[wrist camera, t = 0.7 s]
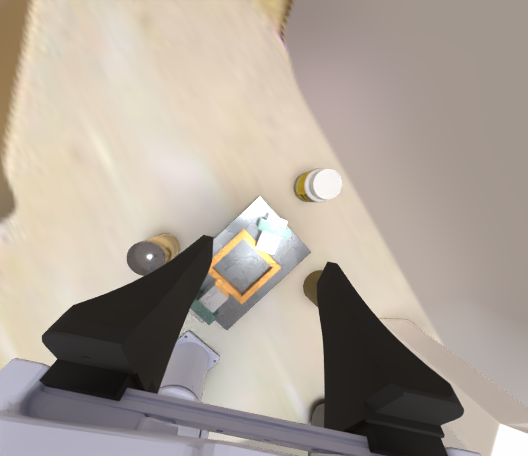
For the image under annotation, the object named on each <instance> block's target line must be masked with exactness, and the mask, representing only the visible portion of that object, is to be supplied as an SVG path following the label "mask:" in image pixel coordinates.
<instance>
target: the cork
mask: <svg viewBox="0 0 528 456" xmlns="http://www.w3.org/2000/svg"><path fill="white" fill-rule="evenodd" d="M322 272H323V271H321V270H320V271H315V272H313V273H311V274H310V275H309V276H308V277H307V278H306V280H305V281H304V285H303V288H304V293H305V295H306V296H307V297H308V298H309V299H310V300H311V301H312V302H313V303H314V304H315V305H316V306H317V307H318V302H317V282H318V280H319V278H320V276H321V274H322Z"/></svg>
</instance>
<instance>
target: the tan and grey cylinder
mask: <svg viewBox="0 0 528 456" xmlns="http://www.w3.org/2000/svg"><path fill="white" fill-rule="evenodd" d="M178 252H179V242H178V240H177V239H176V238H175V237H174V236H172V235H170V234H160V235H157V236H155V237H153V238H150V239H148V240H146V241H142V242H139V243H137V244H135V245H133V246H132V247H131V248H130V249H129V251H128V253H127V263H128V265H129V267H130V268H131V270H132V271H134V272H135V273H137V274H139V275H142V276H146V275H147V274H149V273H151V272H153V271H155V270H156V269H158V268H160V267H161V266H163V265H164V264H166V263H167V262H169V261H170V260H171V259H173V258H174V257H175V256H176V255H177V254H178Z"/></svg>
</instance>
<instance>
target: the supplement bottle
mask: <svg viewBox="0 0 528 456" xmlns="http://www.w3.org/2000/svg"><path fill="white" fill-rule="evenodd" d="M341 188H342V179H341V177H340V175H339V174H338V173H337V172H336V171H335V170H333V169H315V170H313V171H310V172H307V173H305V174H302V175H301V176H299V177H298V178H297V180H296V181H295V184H294V192H295V194H296V196H297V197H298V198H299V199H300V200H302V201H306V202H324V201H327V200H329V199H332V198H334V197H336V196H337V195H338V194H339V192H340V191H341Z"/></svg>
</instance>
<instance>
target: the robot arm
mask: <svg viewBox="0 0 528 456" xmlns="http://www.w3.org/2000/svg"><path fill="white" fill-rule="evenodd" d="M212 259H213V237H210V236H206V235H203V236H202V237H200V238H199V239H198V240H197V241H196V242H194V243H193V244H192V245H191V246H189V247H188V248H187V249H186V250H184V251H183V252H182V253H180V254H179V255H178V256H176V257H175V258H173V259H172V260H170V261H169V262H167V263H166V264H164V265H163V266H161V267H160V268H158V269H156V270H155V271H153V272H151V273H149V274H147V275H146V276H144V277H142V278H140V279H138V280H136V281H134V282H132V283H130V284H128V285H125V286H123V287H121V288H118V289H116V290H114V291H111V292H109V293H106V294H104V295H101V296H98V297H95V298H93V299H90V300H87V301H84V302H81V303H78V304H75V305H73V306H72V307H71V308H70V309H68V310H67V311H66V312H65V313H64V314H63V315H62V316H61V317H60V318H59V319H58V320H57V321H56V322H55V323H54V324H53V325H52V326H51V327H50V328H49V329H48V330H47V331H46V332H45V333H44V334H43V335H42V342H43V343H44V345H45V346H46V347H47V348H48V349H49V350H50V351H51V352H52V353H53V354H54V356H55V357H56V358H57V360H56V361H55V363H54V364H53V365H52V366H51V367H50V366H48V365H46V364H43V363H39V362H34V361H29V360H24V359H19V358H15V359H12V360H11V361H10V362H9V363H8V364H7V365H6V366H5V367H4V368H3V369H2V370H1V371H0V456H297V455H293V454H288V453H283V452H278V451H273V450H268V449H263V448H258V447H253V446H248V445H243V444H238V443H233V442H227V441H221V440H211V439H208V434H209V431H211V432H216V433H221V434H225V435H230V436H235V437H240V438H245V439H250V440H255V441H260V442H265V443H270V444H275V445H280V446H285V447H289V448H295V449H300V450H305V451H309V452H314V453H311V455H310V456H482V455H481V454H480V453H478V452H473V451H468V450H463V449H458V448H452V447H444V445H443V443H442V440H441V438H444V433H443V431H442V428H441V426H440V425H442V424H445V423H448V422H451V421H453V420H456V419H458V418H460V417H461V416H462V415H463V414H464V408H463V406H462V405H461V403H460V401H459V399H458V397H457V395H456V393H455V392H454V390H453V388H452V386H451V384H450V383H449V382H447V381H446V380H445V379H444V378H442V377H441V376H440V375H439V374H437V373H436V372H435V371H434V370H433V369H431V368H430V367H429V366H428V365H426V364H425V363H424V362H423V361H422V360H420V359H419V358H418V357H417V356H416V355H415V354H414V353H412V352H411V351H410V350H409V349H408V348H407V347H406V346H405V345H404V344H403V343H402V342H400V341H399V340H398V339H397V338H396V337H395V336H394V335H393V334H392V333H391V332H390V331H389V330H388V329H387V328H386V326H385V325H384V324H383V323H382V322H381V321H380V320H379V319H378V318H377V317H376V315H375V314H374V313H373V312H372V311H371V310H370V308H369V307H368V306H367V305H366V303H365V302H364V301H363V300H362V298H361V297H360V296H359V294H358V293H357V291H356V290H355V289H354V287H353V286H352V284H351V283H350V281H349V280H348V279H347V277H346V276H345V274H344V273H343V271H342V270H341V268H340V267H339V265H338V264H337V263H332V262H327V264H326V266H325V268H324V270H323V272H322V274H321V276H320V278H319V280H318V282H317V302H318V309H319V316H320V322H321V329H322V336H323V350H324V383H325V402H324V428H321V427H316V426H312V425H307V424H302V423H297V422H292V421H287V420H282V419H277V418H272V417H267V416H263V415H258V414H253V413H248V412H243V411H238V410H233V409H228V408H223V407H219V406H214V405H209V404H204V403H202V402H201V398H202V393H203V388H204V384H205V379H206V374H207V371H208V370H209V369H210V368H211V367H212V366H214V365H215V364H216V363H217V362H218V361H219V359H220V357H219V356H218V355H217V354H216V353H215V352H214V351H213V350H211V349H210V348H209V347H208V346H207V345H205V344H204V343H203V342H202V341H201V340H200V339H198V338H197V337H196V336H195V335H194V334H193V333H191V332H190V331H187V332H186V333H185V334H184V335H183V336H182V337H180V338H179V339H178V336H179V334H180V331H181V329H182V326H183V324H184V321H185V319H186V316H187V314H188V312H189V309H190V307H191V305H192V303H193V301H194V300H195V298H196V296H197V294H198V292H199V290H200V288H201V286H202V284H203V282H204V280H205V278H206V276H207V274H208V271H209V269H210V266H211V263H212ZM185 336H187V337H185ZM177 339H178V340H177ZM214 360H216V361H214Z"/></svg>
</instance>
